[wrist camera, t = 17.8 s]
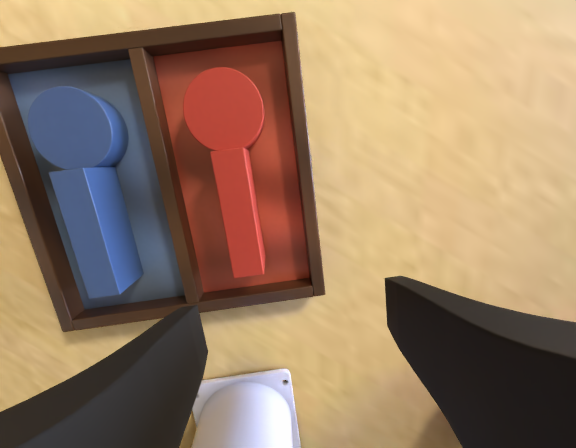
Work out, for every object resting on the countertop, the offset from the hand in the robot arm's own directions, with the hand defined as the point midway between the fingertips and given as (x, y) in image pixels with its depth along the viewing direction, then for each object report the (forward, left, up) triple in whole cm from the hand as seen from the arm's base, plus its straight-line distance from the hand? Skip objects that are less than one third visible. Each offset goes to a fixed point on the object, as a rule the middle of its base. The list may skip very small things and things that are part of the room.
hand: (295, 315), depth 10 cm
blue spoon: (+6, +11, -9) cm, 15 cm away
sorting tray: (+5, +7, -9) cm, 12 cm away
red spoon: (+6, +2, -9) cm, 11 cm away
